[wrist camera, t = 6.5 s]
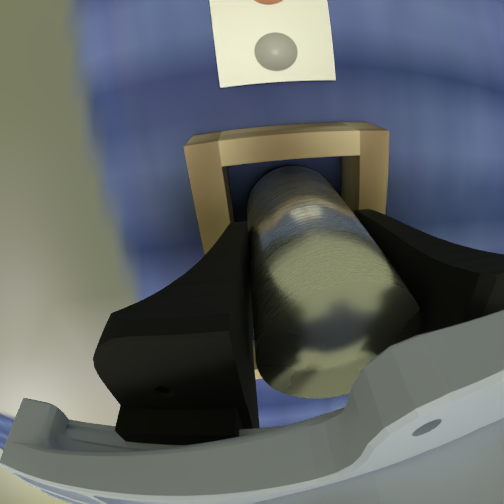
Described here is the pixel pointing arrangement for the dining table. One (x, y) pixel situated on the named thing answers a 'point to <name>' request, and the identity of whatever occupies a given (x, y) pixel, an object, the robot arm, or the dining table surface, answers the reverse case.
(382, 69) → the dining table surface
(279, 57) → the key card
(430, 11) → the dining table surface
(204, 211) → the tan frame
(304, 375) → the pin
